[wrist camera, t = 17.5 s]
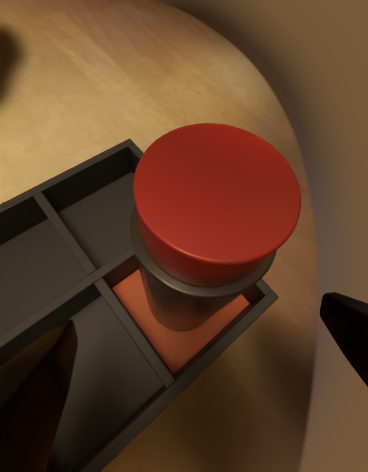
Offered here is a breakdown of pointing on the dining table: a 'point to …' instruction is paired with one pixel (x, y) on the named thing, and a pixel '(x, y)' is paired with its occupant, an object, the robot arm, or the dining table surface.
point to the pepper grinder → (208, 219)
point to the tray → (101, 308)
